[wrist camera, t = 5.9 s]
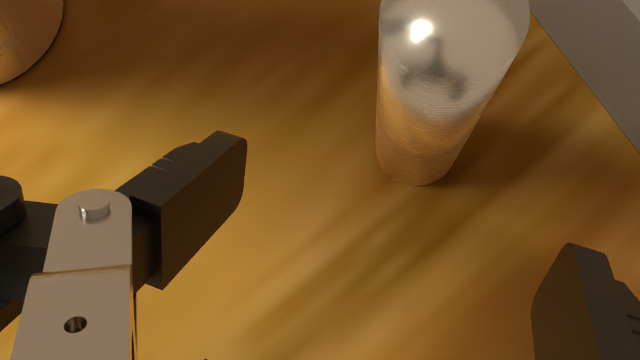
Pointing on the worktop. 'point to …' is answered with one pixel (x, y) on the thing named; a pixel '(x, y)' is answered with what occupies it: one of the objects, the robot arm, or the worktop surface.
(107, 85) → the worktop surface
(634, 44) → the socket block
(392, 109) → the steel peg
